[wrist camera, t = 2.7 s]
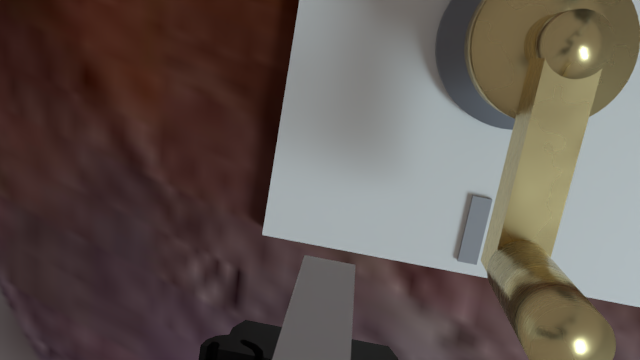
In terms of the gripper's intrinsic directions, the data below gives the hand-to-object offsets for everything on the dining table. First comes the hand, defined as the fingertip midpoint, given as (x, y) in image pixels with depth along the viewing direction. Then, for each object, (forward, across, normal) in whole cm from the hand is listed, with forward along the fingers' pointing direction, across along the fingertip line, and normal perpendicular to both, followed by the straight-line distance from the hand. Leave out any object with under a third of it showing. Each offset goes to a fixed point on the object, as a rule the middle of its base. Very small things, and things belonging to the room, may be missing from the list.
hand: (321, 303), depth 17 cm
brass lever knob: (+10, +7, +6) cm, 14 cm away
